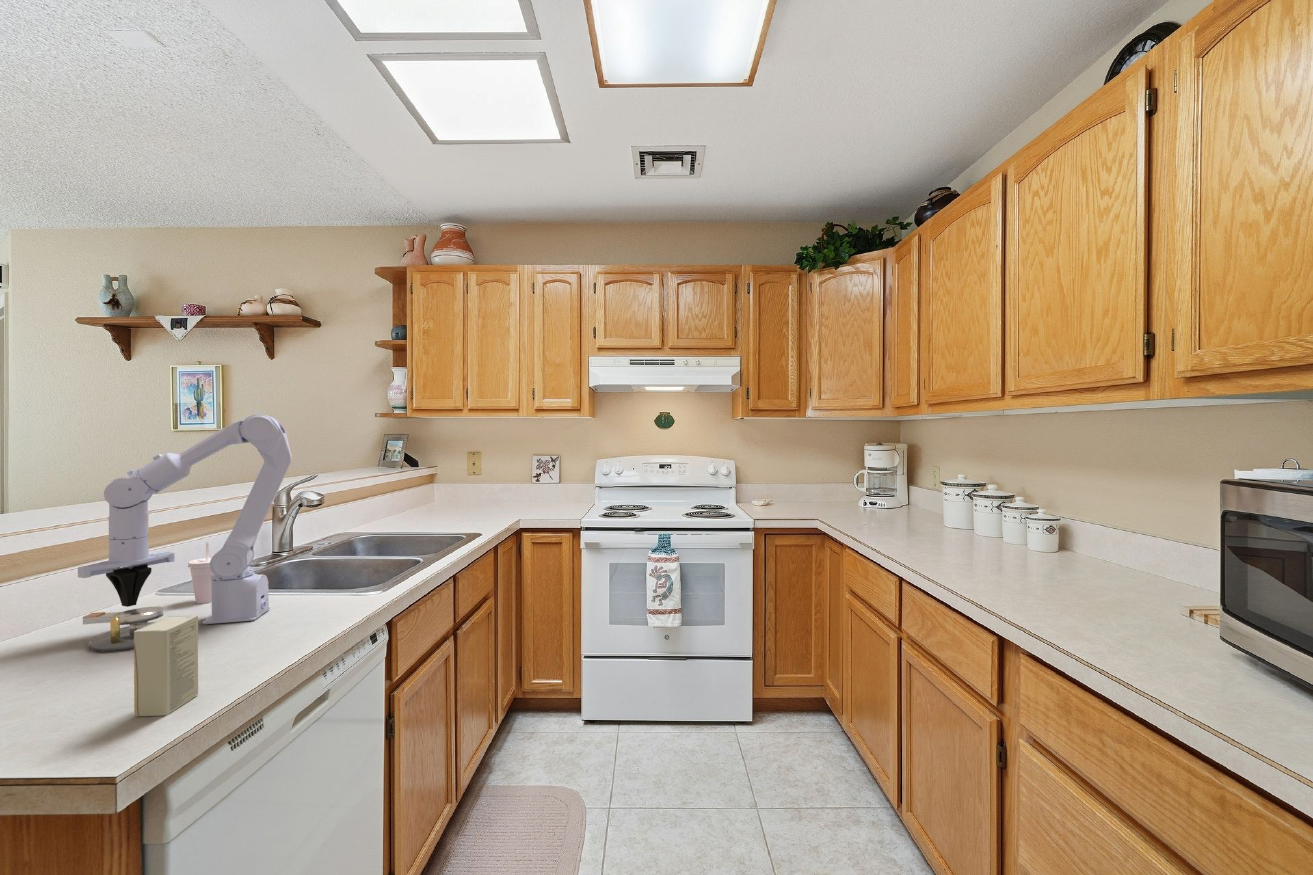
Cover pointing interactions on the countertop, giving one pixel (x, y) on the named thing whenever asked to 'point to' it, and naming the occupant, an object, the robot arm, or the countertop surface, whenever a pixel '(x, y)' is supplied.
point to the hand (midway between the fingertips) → (129, 605)
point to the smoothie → (201, 578)
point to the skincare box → (165, 665)
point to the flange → (126, 616)
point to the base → (116, 637)
